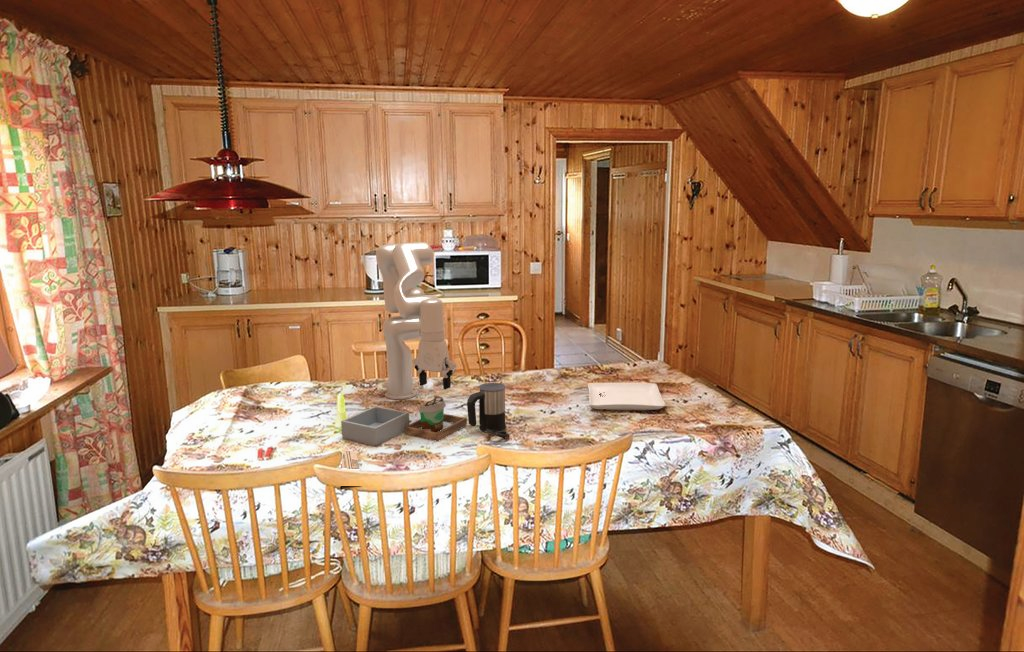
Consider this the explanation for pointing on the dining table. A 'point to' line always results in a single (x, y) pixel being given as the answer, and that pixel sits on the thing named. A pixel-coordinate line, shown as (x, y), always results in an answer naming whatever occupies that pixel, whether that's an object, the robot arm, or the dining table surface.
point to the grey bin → (375, 425)
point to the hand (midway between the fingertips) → (435, 386)
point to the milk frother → (489, 409)
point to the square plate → (625, 396)
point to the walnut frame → (414, 431)
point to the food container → (432, 414)
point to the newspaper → (350, 460)
